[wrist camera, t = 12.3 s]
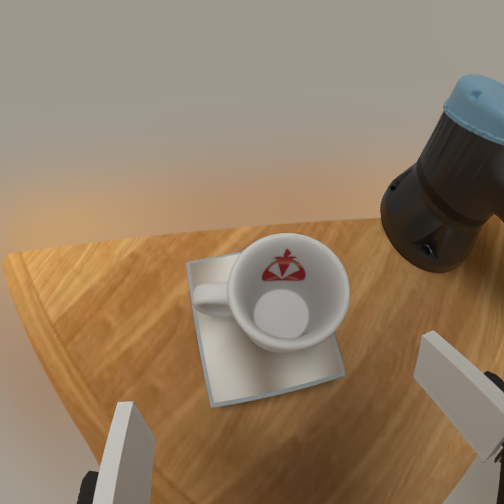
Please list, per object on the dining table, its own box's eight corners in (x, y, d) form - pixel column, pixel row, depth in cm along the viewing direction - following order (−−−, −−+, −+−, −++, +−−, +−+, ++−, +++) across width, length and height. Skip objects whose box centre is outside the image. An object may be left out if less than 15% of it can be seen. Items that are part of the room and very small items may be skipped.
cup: (200, 360, 23) (176, 345, 16) (206, 275, 27) (189, 230, 20) (326, 360, 23) (356, 346, 16) (321, 276, 27) (344, 232, 20)
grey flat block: (298, 259, 33) (304, 237, 29) (332, 378, 27) (347, 375, 23) (194, 280, 32) (185, 260, 28) (217, 405, 26) (210, 408, 21)
